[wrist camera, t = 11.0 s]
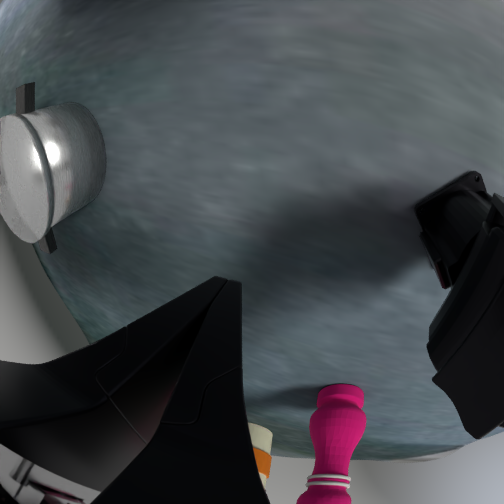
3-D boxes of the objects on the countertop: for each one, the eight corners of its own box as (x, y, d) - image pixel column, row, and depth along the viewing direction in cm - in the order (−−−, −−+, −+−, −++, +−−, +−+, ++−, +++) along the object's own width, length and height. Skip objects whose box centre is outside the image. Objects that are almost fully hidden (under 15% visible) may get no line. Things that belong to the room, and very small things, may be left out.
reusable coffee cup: (261, 416, 40) (235, 493, 28) (292, 441, 44) (274, 505, 32) (207, 415, 46) (179, 478, 34) (241, 440, 50) (221, 495, 38)
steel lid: (46, 102, 13) (31, 105, 12) (68, 248, 20) (57, 257, 19) (-22, 128, 16) (-31, 132, 14) (-5, 221, 22) (-13, 227, 21)
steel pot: (105, 67, 17) (44, 72, 12) (115, 235, 27) (72, 270, 21) (40, 88, 19) (-7, 99, 14) (54, 218, 29) (17, 244, 23)
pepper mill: (309, 402, 34) (277, 530, 17) (321, 377, 30) (287, 533, 14) (356, 408, 32) (337, 535, 16) (375, 384, 29) (360, 535, 12)
